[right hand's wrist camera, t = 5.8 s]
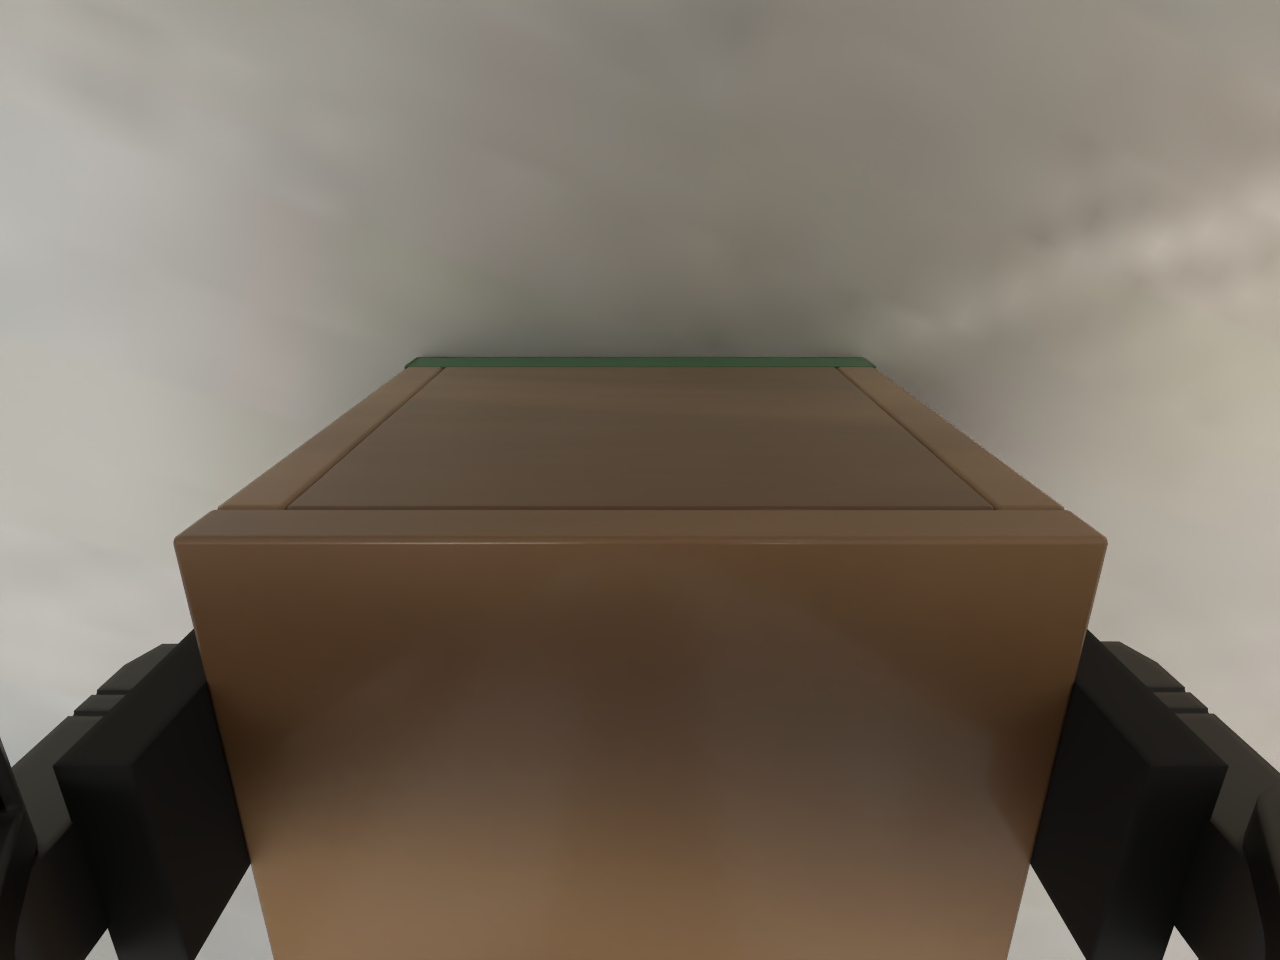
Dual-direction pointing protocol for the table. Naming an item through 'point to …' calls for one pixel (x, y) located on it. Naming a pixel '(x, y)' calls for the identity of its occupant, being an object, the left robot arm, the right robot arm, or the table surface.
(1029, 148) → the table surface
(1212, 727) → the right robot arm
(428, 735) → the cabinet
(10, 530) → the table surface
